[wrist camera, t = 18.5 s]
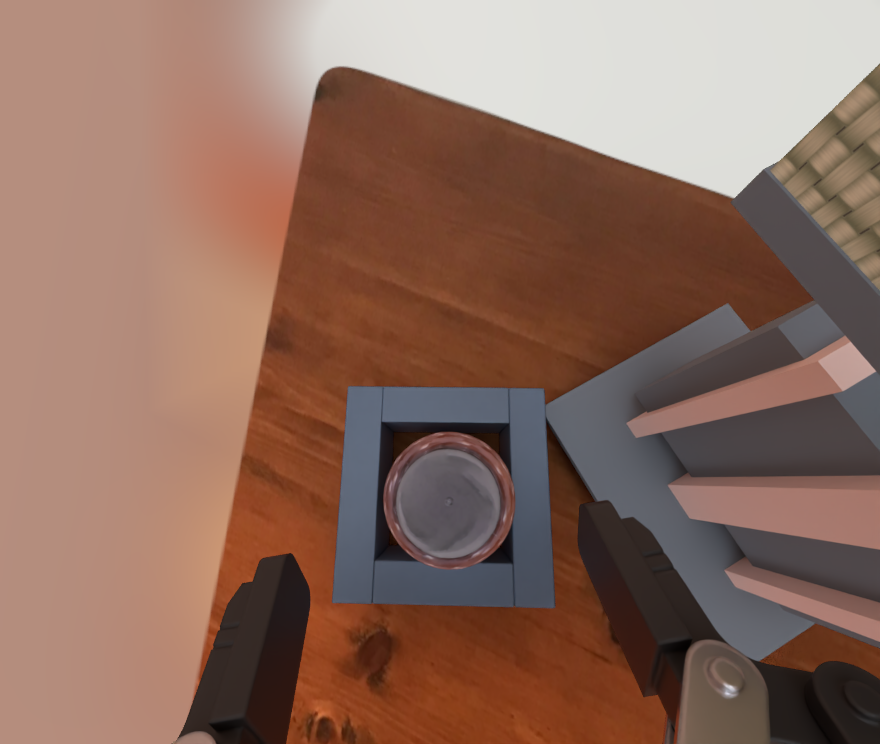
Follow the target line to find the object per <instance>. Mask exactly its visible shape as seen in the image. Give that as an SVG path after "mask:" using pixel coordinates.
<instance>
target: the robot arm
mask: <svg viewBox="0 0 880 744" xmlns="http://www.w3.org/2000/svg"><path fill="white" fill-rule="evenodd" d="M578 546H579V551H580V555H581V558H582V560H583V563H584V565H585V567H586V570H587V572H588V574H589V576H590V579H591V581H592V583H593V585H594V587H595V590H596V592H597V594H598V596H599V599H600V601H601V603H602V605H603V608H604V610H605V612H606V614H607V616H608V619H609V621H610V623H611V625H612V628H613V630H614V632H615V634H616V636H617V639H618V641H619V643H620V645H621V648H622V650H623V652H624V654H625V657H626V659H627V661H628V663H629V665H630V668H631V670H632V672H633V674H634V677H635V679H636V681H637V683H638V685H639V688H640V690H641V692H642V694H643V697H647V696H653V695H658V696H659V698H660V700H661V702H662V704H663V706H664V708H665V710H666V717H665V725H664V734H663V742H662V744H880V680H879V679H878V678H877V677H875V676H873V675H872V674H870V673H869V672H867V671H865V670H863V669H861V668H859V667H856V666H854V665H851V664H848V663H844V662H838V661H829V662H825V663H823V664H821V665H819V666H818V667H817V668H816V669H815V671H814V672H807V671H802V670H796V669H791V668H785V667H780V666H774V665H769V664H765V663H761V662H758V661H756V660H753V659H751V658H749V657H747V656H745V655H744V654H743V653H741V652H740V651H739V650H737V649H735V648H734V647H732V646H731V645H730V644H728V643H727V642H726V641H725V640H724V639H723V638H722V637H721V636H720V634H719V633H718V632H717V630H716V629H715V628H714V626H713V625H712V623H711V622H710V620H709V619H708V617H707V616H706V614H705V613H704V611H703V610H702V608H701V606H700V605H699V603H698V602H697V600H696V599H695V597H694V596H693V594H692V593H691V591H690V590H689V588H688V587H687V585H686V584H685V582H684V581H683V579H682V578H681V576H680V575H679V573H678V571H677V570H676V569H674V566H673V564H672V562H671V561H670V559H669V558H668V556H667V555H666V554H665V553H664V551H663V549H662V547H661V546H660V544H659V543H658V541H657V540H656V538H655V536H654V535H653V533H652V532H651V531H650V530H649V529H648V528H646V527H645V526H644V525H643V524H641V523H640V522H639V521H638V520H637V519H635V518H634V517H629V518H623V519H621V517H620V516H619V514H618V512H617V511H616V509H615V507H614V506H613V504H612V503H611V502H610V501H609V500H603V501H597V502H591V503H585V504H581V505H580V508H579V524H578ZM309 611H310V590H309V586H308V584H307V582H306V580H305V577H304V575H303V573H302V571H301V569H300V567H299V565H298V563H297V561H296V559H295V557H294V556H293V554H291V553H289V554H283V555H278V556H272V557H266V558H263V559H261V561H260V562H259V564H258V567H257V570H256V573H255V576H254V579H253V582H247V583H242V585H241V586H240V587H239V589H238V590H237V592H236V593H235V595H234V596H233V597H232V599H231V600H230V602H229V603H228V605H227V608H226V610H225V613H224V616H223V619H222V622H221V624H220V631H218V633H217V636H216V639H215V641H214V644H213V646H214V648H213V650H211V653H210V655H209V658H208V661H207V664H206V667H205V669H204V672H203V675H202V678H201V681H200V684H199V686H198V689H197V692H196V695H195V698H194V700H193V703H192V706H191V709H190V712H189V715H188V717H187V720H186V723H185V725H184V727H183V730H182V731H181V734H180V735H179V737H178V739H177V740H176V741H175V742H173V743H172V744H286V740H287V735H288V729H289V723H290V718H291V712H292V706H293V701H294V695H295V690H296V684H297V678H298V673H299V667H300V661H301V656H302V650H303V644H304V639H305V633H306V627H307V622H308V616H309Z"/></svg>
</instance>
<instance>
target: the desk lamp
mask: <svg viewBox="0 0 880 744" xmlns="http://www.w3.org/2000/svg"><path fill="white" fill-rule="evenodd" d="M731 204H732V205H733V206H734V207H735V208H736V209H737V211H738V212H739V213H740V214H741V215H742V216H743V217H744V219H745V220H746V221H747V222H748V223H749V224H750V226H751V227H752V228H753V229H754V230H755V231H756V233H757V234H758V235H759V236H760V237H761V238H762V239H763V241H764V242H765V243H766V244H767V245H768V246H769V248H770V249H771V250H772V251H773V252H774V253H775V255H776V256H777V257H778V258H779V259H780V260H781V262H782V263H783V264H784V265H785V266H786V267H787V268H788V270H789V271H790V272H791V273H792V274H793V275H794V277H795V278H796V279H797V280H798V281H799V282H800V284H801V285H802V286H803V287H804V288H805V289H806V291H807V292H808V293H809V294H810V295H811V296H812V297H813V299H814V300H813V301H811V302H809V303H807V304H805V305H803V306H801V307H799V308H797V309H795V310H793V311H791V312H789V313H787V314H785V315H783V316H781V317H779V318H777V319H775V320H773V321H771V322H769V323H767V324H765V325H763V326H761V327H759V328H757V329H755V330H753V331H750V330H749V329H748V328H747V326H746V325H745V324H744V323H743V321H742V320H741V319H740V318H739V316H738V315H737V314H736V313H735V311H734V310H733V309H732V308H731V306H730V305H729V304H728V303H727V304H726V305H724V306H722V307H720V308H719V309H717V310H715V311H713V312H711V313H710V314H708V315H706V316H704V317H702V318H701V319H699V320H697V321H695V322H693V323H692V324H690V325H688V326H686V327H684V328H683V329H681V330H679V331H677V332H675V333H674V334H672V335H670V336H668V337H666V338H665V339H663V340H661V341H659V342H657V343H656V344H654V345H652V346H650V347H649V348H647V349H645V350H643V351H641V352H640V353H638V354H636V355H634V356H632V357H631V358H629V359H627V360H625V361H623V362H622V363H620V364H618V365H616V366H614V367H613V368H611V369H609V370H607V371H605V372H604V373H602V374H600V375H598V376H596V377H595V378H593V379H591V380H589V381H587V382H586V383H584V384H582V385H580V386H579V387H577V388H575V389H573V390H571V391H570V392H568V393H566V394H564V395H562V396H561V397H559V398H557V399H555V400H553V401H552V402H550V403H548V404H546V405H545V411H546V422H547V423H548V425H549V427H550V428H551V430H552V432H553V433H554V435H555V436H556V438H557V440H558V441H559V443H560V445H561V446H562V448H563V449H564V451H565V453H566V454H567V456H568V458H569V459H570V461H571V462H572V464H573V466H574V467H575V469H576V471H577V472H578V474H579V475H580V477H581V479H582V480H583V482H584V484H585V485H586V487H587V489H588V490H589V492H590V493H591V495H592V497H593V498H594V500H595V502H597V501H603V500H609V501H610V502H611V503H612V504H613V506H614V507H615V509H616V511H617V512H618V514H619V516H620V517H621V519H623V518H629V517H634V518H635V519H637V520H638V521H639V522H640V523H641V524H643V525H644V526H645V527H646V528H648V529H649V530H650V531H651V532H652V533H653V535H654V536H655V538H656V540H657V541H658V543H659V544H660V546H661V547H662V549H663V551H664V553H665V554H666V555H667V556H668V558H669V559H670V561H671V562H672V564H673V566H674V569H676V570H677V571H678V573H679V575H680V576H681V578H682V579H683V581H684V582H685V584H686V585H687V587H688V588H689V590H690V591H691V593H692V594H693V596H694V597H695V599H696V600H697V602H698V603H699V605H700V606H701V608H702V610H703V611H704V613H705V614H706V616H707V617H708V619H709V620H710V622H711V623H712V625H713V626H714V628H715V629H716V630H717V632H718V633H719V634H720V636H721V637H722V638H723V639H724V640H725V641H726V642H727V643H728V644H730V645H731V646H732V647H734V648H735V649H737V650H739V651H740V652H741V653H743V654H744V655H745V656H747V657H749V658H751V659H753V660H756V661H760V660H761V659H763V658H764V657H766V656H767V655H769V654H770V653H772V652H773V651H775V650H776V649H778V648H779V647H781V646H782V645H784V644H785V643H787V642H788V641H790V640H791V639H793V638H794V637H796V636H797V635H799V634H800V633H802V632H803V631H805V630H806V629H808V628H809V627H811V626H812V625H814V624H815V623H817V624H819V625H822V626H824V627H827V628H829V629H832V630H834V631H837V632H840V633H842V634H845V635H847V636H850V637H852V638H855V639H857V640H860V641H862V642H865V643H867V644H870V645H873V646H875V647H878V648H880V64H879V65H878V66H877V67H876V68H875V69H874V70H873V71H872V72H871V73H870V74H869V75H868V76H867V77H866V78H865V79H864V80H863V81H862V82H860V84H858V85H857V86H856V87H855V88H854V89H853V90H852V91H851V92H850V93H849V94H848V95H847V96H846V97H845V98H844V99H843V100H842V101H841V102H840V103H839V104H838V105H837V106H836V107H835V108H834V109H833V110H832V111H831V112H830V113H829V114H828V115H826V117H824V118H823V119H822V120H821V121H820V122H819V123H818V124H817V125H816V126H815V127H814V128H813V129H812V130H811V131H810V132H809V133H808V134H807V135H806V136H805V137H804V138H803V139H802V140H801V141H800V142H799V143H798V144H797V145H796V146H795V147H793V148H792V150H791V151H790V152H788V153H787V154H786V155H785V156H784V157H783V158H782V159H781V160H780V161H779V162H777V163H775V164H773V165H771V166H769V167H767V168H765V169H764V170H763V171H762V172H761V173H760V174H759V175H758V176H756V177H755V178H754V179H753V180H752V181H751V182H750V183H749V184H748V185H747V187H746V188H744V189H743V190H742V192H740V193H739V194H738V196H736V197H735V198H734V199H733V200H732V201H731Z"/></svg>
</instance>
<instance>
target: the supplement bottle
mask: <svg viewBox="0 0 880 744" xmlns="http://www.w3.org/2000/svg"><path fill="white" fill-rule="evenodd" d="M383 497H384V498H383V504H384V512H385V516H386V520H387V524H388V527H389V529H390V530H391V533H392V535H393V536H394V538H395V539H396V541H397V542H398V544H399V545H400V546H401V547H402V548H403V550H405V551H406V552H407V553H408V554H409V555H410V556H412V557H413V558H414V559H416V560H418V561H419V562H422V563H423V564H425V565H428V566H431V567H434V568H439V569H448V570H451V569H463V568H466V567H470V566H473V565H476V564H478V563H480V562H481V561H483V560H485V559H486V558H487V557H489V556H490V555H491V554H492V553H494V552H495V551H496V550H497V549H498V548H499V546H500V545H501V544H502V542H503V541H504V539H505V538H506V536H507V534H508V532H509V530H510V527H511V525H512V522H513V518H514V513H515V491H514V485H513V481H512V478H511V475H510V473H509V470H508V468H507V467H506V465H505V463H504V462H503V460H502V459H501V457H500V456H499V455H498V454H497V453H496V452H495V451H494V450H493V449H492V448H491V447H490V446H489V445H488V444H486V443H485V442H483V441H481V440H480V439H478V438H475V437H473V436H471V435H468V434H463V433H458V432H438V433H434V434H430V435H428V436H425V437H423V438H421V439H418V440H416V441H415V442H413V443H412V444H411V445H409V446H408V447H407V448H406V449H405V450H404V451H403V452H402V453H401V454H400V455H399V456H398V457H397V458H396V460H395V462H394V463H393V465H392V467H391V469H390V471H389V474H388V476H387V479H386V483H385V487H384V494H383Z"/></svg>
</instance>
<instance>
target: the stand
mask: <svg viewBox="0 0 880 744" xmlns="http://www.w3.org/2000/svg"><path fill="white" fill-rule="evenodd" d="M394 432H427V433H438V432H458V433H499V443H500V457H501V459H502V460H503V462H504V463H505V465H506V467H507V468H508V470H509V473H510V475H511V478H512V481H513V485H514V491H515V513H514V518H513V522H512V525H511V527H510V530H509V532H508V534H507V536H506V538H505V539H504V541H503V542H502V548H500V547H499V548H498V549H497V550H496V551H495V552H494V553H492V554H491V555H490V556H489V557H487V558H486V559H485V560H483V561H481V562H480V563H478V564H476V565H473V566H470V567H466V568H463V569H451V570H448V569H439V568H434V567H431V566H428V565H425V564H423V563H422V562H419V561H418V560H416V559H414V558H413V557H412V556H410V555H409V554H408V553H407V552H406V551H405V550H403V548H402V547H401V546H400V545H389V527H388V524H387V520H386V516H385V512H384V504H383V498H384V497H383V494H384V487H385V483H386V479H387V476H388V474H389V471H390V469H391V467H392V460H393V437H394ZM372 602H373V603H374V604H404V605H444V606H483V607H514V606H515V607H523V608H555V589H554V570H553V550H552V530H551V510H550V490H549V471H548V451H547V431H546V411H545V392H544V389H543V388H509V389H508V388H475V387H368V386H349V387H348V395H347V408H346V421H345V435H344V448H343V462H342V475H341V489H340V502H339V515H338V529H337V542H336V556H335V569H334V582H333V596H332V603H356V604H372Z"/></svg>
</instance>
